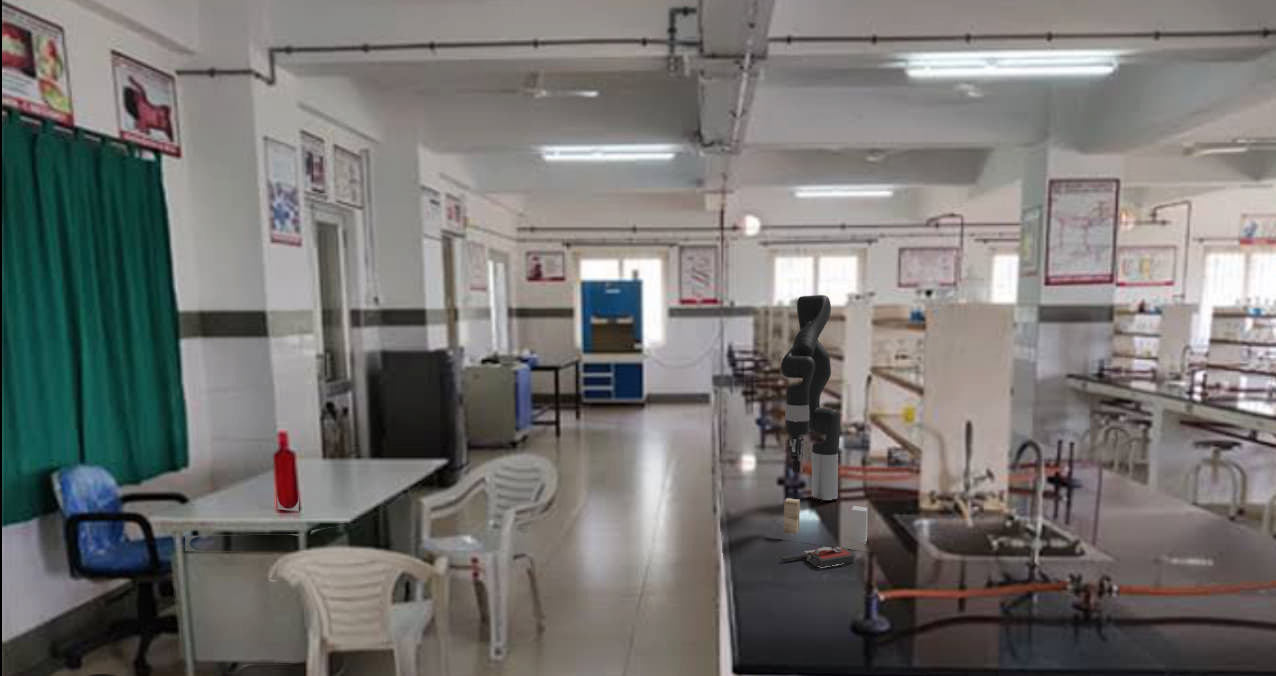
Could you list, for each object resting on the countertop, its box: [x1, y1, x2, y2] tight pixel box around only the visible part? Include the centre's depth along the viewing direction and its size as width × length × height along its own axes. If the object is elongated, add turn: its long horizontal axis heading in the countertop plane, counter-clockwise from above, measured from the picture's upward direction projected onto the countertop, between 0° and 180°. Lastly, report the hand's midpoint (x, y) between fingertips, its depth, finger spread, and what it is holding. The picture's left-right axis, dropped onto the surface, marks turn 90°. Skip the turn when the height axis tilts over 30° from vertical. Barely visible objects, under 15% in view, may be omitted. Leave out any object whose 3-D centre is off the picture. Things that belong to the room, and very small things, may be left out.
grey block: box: [851, 505, 868, 544], centre depth 195 cm, size 4×4×10 cm
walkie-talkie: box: [780, 546, 855, 567], centre depth 180 cm, size 9×4×20 cm
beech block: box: [783, 497, 801, 534], centre depth 203 cm, size 4×4×10 cm
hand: (796, 471), depth 210 cm, fingers closed
